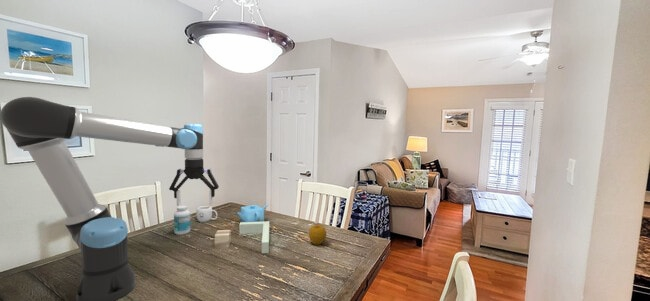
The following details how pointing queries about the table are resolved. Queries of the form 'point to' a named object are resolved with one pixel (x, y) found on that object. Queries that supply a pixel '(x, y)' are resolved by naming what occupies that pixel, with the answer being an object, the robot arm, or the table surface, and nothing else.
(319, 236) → the apple
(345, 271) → the table surface
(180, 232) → the pill bottle
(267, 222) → the fence
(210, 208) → the mug
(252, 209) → the teapot
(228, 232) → the maple block
